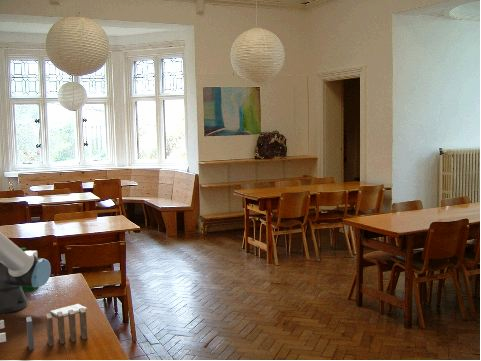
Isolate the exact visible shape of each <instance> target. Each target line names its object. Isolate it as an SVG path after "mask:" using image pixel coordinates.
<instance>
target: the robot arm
mask: <svg viewBox="0 0 481 361" xmlns="http://www.w3.org/2000/svg"><path fill="white" fill-rule="evenodd" d="M20 248H21V247H19V245H17V244H15V243H14V242H13V241H12V240H10V238H8V237H7V236H6V235H5V234H3V233H2V232H1V231H0V314H9V313H12V312H17V311H20V310H23V309H25V308H26V307H27V306H28V299H27V297H26V295H25V293H24V292H25V291H23V290H22V286H31V287H38V288H40V287H43V286H45V285H46V284H47V283H48V281H49V279H50V277H51V272H52V270H51V269H52V266H51V263H50V262H49V260H48V259H46V258H40V257H38V256H37V257H36V256H35V255H33V254H32V253H31V252H29V251H30V250H26V251H23V250H21V249H20ZM4 328H5V320H4V319H1V320H0V329H4ZM4 342H7V336H6V332H2V333H1V332H0V343H4Z"/></svg>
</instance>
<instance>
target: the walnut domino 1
mask: <svg viewBox="0 0 481 361" xmlns="http://www.w3.org/2000/svg"><path fill="white" fill-rule="evenodd" d="M45 320H46V334H47V335H46V337H47V344H48V346H49V347H52V346H53V347H54V346H55V339H54V336H55V335H54V325H53V315H52V314H51V313H50V312H49V313H46V314H45Z"/></svg>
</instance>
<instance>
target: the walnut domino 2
mask: <svg viewBox="0 0 481 361" xmlns="http://www.w3.org/2000/svg"><path fill="white" fill-rule="evenodd" d="M56 318H57V328H58V329H57V330H58V341H59V342H60V345H62V344H63V345H64V344H66V333H65V332H66V331H65V316H64V315H63V313H62V311H61V312H57V317H56Z"/></svg>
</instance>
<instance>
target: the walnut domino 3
mask: <svg viewBox="0 0 481 361" xmlns="http://www.w3.org/2000/svg"><path fill="white" fill-rule="evenodd" d="M67 316H68V327H69V338H70V340H71V342H77V341H78V340H77V325H76V324H77V323H76V313H74V311H73V310H68V315H67Z"/></svg>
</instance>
